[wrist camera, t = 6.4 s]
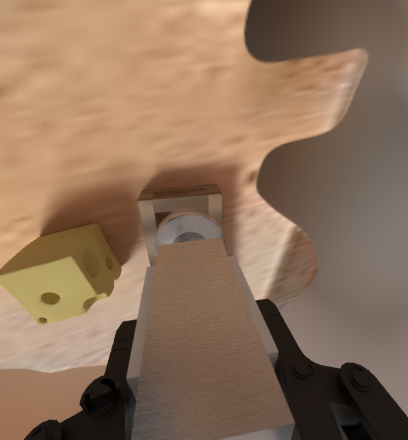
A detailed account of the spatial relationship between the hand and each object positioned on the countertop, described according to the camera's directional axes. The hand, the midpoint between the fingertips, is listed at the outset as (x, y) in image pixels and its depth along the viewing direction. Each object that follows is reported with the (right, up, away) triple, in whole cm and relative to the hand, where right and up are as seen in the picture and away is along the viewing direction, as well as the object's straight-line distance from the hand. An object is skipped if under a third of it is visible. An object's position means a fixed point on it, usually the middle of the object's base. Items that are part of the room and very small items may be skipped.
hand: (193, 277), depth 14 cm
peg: (-1, +2, +5) cm, 5 cm away
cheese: (-21, -1, +22) cm, 30 cm away
